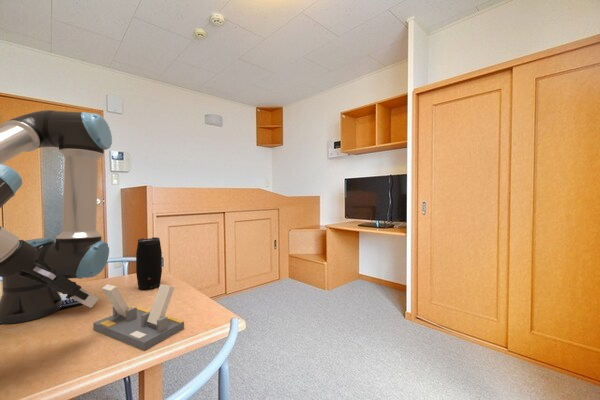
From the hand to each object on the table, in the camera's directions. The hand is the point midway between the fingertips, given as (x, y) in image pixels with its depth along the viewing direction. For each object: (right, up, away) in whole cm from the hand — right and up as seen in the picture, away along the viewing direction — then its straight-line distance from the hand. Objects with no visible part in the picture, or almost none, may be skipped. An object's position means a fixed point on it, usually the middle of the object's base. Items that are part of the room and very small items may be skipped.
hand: (93, 302), depth 72 cm
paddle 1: (+3, -6, +8) cm, 10 cm away
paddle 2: (+15, -6, +2) cm, 16 cm away
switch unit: (+9, -9, +5) cm, 14 cm away
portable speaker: (-6, -8, +38) cm, 39 cm away
